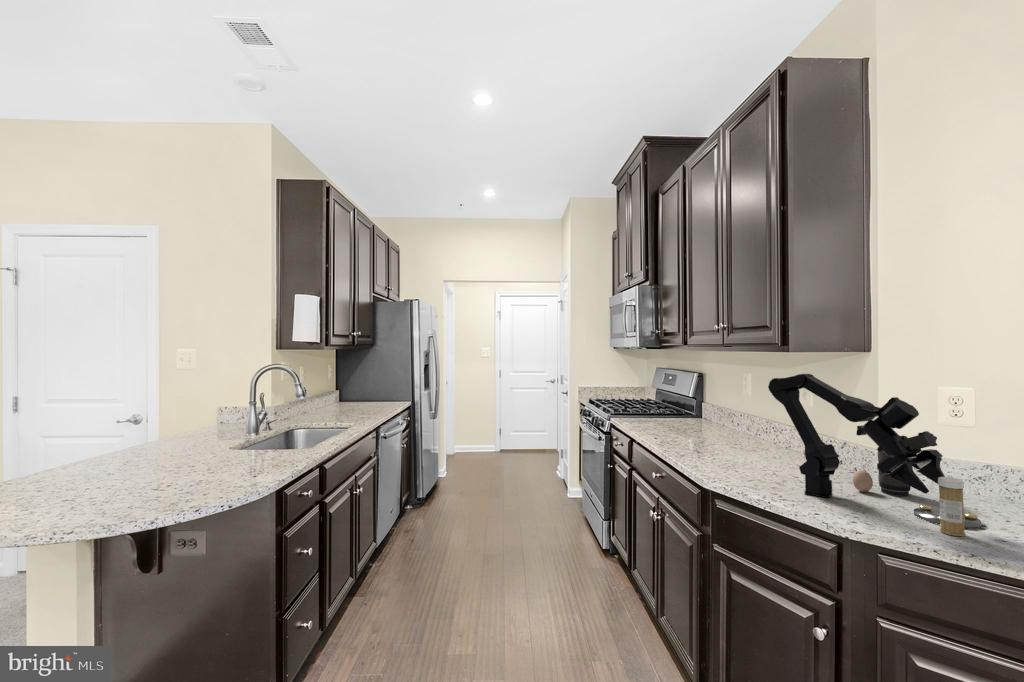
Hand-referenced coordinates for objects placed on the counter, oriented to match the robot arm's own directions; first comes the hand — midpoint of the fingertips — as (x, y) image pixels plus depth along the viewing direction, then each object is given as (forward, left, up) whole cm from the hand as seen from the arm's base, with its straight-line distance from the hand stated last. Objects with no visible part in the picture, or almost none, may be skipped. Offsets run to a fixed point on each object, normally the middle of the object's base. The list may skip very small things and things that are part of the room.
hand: (938, 490), depth 114 cm
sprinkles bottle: (+2, -1, -10) cm, 10 cm away
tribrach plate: (+2, +11, -10) cm, 15 cm away
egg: (-16, +28, -10) cm, 34 cm away
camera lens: (-8, +32, -10) cm, 34 cm away
